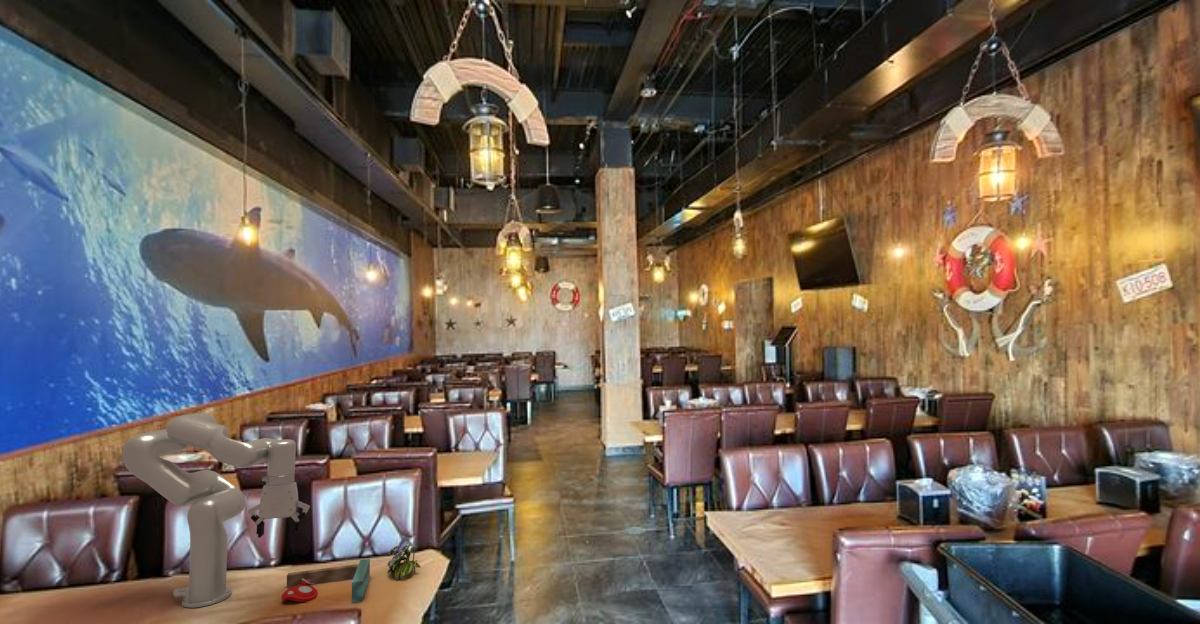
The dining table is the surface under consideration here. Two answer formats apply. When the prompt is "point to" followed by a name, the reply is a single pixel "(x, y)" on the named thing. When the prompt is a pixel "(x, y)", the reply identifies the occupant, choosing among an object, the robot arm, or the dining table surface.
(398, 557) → the passion flower
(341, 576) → the frame
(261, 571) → the dining table surface
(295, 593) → the tracker holder
